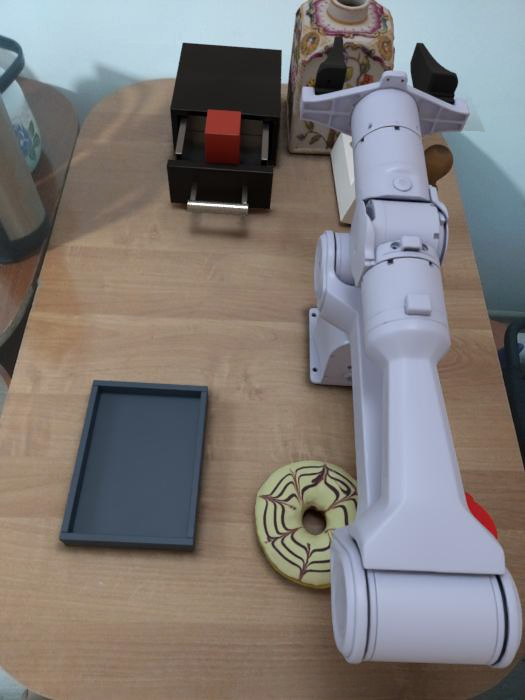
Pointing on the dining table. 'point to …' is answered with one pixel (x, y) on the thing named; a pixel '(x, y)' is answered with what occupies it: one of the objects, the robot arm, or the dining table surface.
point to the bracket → (344, 177)
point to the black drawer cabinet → (229, 86)
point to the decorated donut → (287, 512)
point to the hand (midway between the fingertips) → (377, 49)
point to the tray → (138, 467)
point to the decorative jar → (315, 46)
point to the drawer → (221, 171)
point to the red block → (223, 136)
